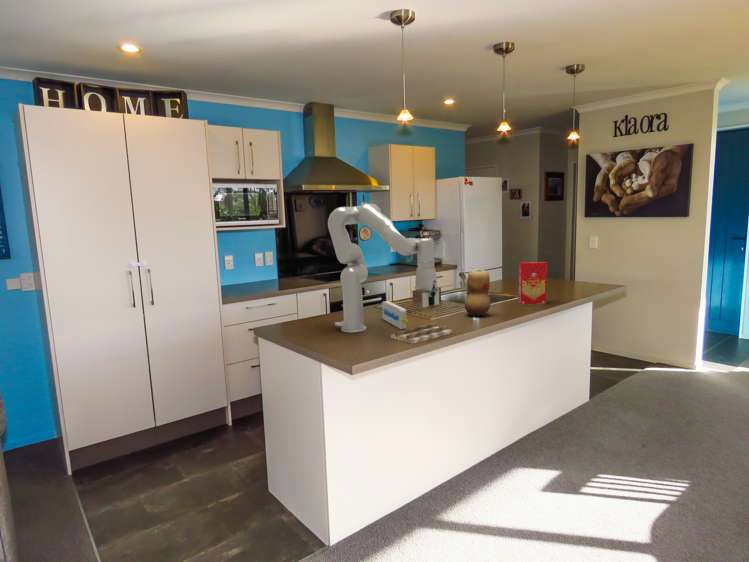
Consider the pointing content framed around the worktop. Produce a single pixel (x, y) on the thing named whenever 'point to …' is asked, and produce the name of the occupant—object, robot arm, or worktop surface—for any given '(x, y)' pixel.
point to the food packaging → (532, 282)
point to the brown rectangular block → (425, 300)
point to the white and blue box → (394, 314)
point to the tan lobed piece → (477, 292)
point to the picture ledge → (421, 333)
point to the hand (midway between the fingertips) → (427, 304)
